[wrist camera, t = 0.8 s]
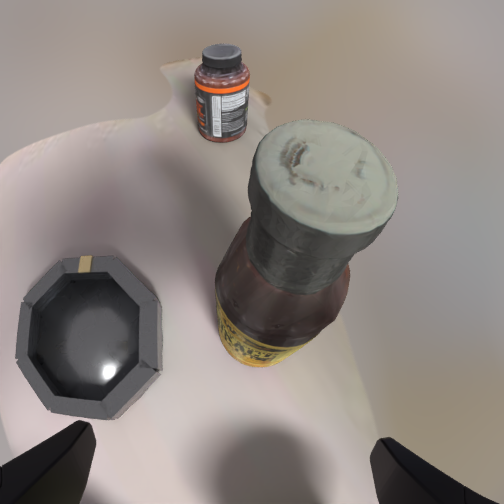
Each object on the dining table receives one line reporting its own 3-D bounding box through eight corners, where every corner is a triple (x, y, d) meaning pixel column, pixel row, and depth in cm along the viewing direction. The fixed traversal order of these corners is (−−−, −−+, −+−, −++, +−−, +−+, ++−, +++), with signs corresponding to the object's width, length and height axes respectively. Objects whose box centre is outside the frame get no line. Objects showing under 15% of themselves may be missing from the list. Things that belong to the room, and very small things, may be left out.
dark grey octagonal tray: (166, 422, 21) (159, 423, 19) (26, 406, 20) (13, 404, 18) (163, 262, 28) (159, 251, 26) (38, 269, 27) (28, 259, 25)
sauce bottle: (204, 326, 25) (147, 136, 8) (262, 284, 27) (306, 72, 10) (255, 388, 23) (321, 330, 6) (312, 340, 25) (457, 187, 8)
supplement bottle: (194, 120, 37) (188, 43, 27) (238, 112, 38) (241, 37, 29) (204, 149, 35) (198, 65, 25) (253, 139, 36) (259, 58, 26)
